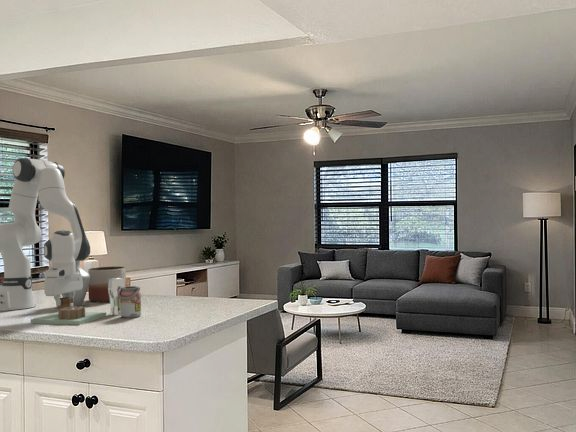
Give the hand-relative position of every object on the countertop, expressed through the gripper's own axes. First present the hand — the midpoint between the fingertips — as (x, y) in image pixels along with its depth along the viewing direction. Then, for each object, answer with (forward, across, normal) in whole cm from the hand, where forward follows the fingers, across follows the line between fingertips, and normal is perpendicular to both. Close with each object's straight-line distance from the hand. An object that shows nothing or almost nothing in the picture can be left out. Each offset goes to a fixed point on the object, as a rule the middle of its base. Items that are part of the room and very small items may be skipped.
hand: (65, 304), depth 232 cm
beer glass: (+6, -10, +18) cm, 21 cm away
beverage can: (+6, -6, +27) cm, 28 cm away
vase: (+6, -27, -15) cm, 32 cm away
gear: (+2, 0, 0) cm, 2 cm away
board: (+6, +4, +5) cm, 8 cm away
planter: (+6, -46, -9) cm, 47 cm away
